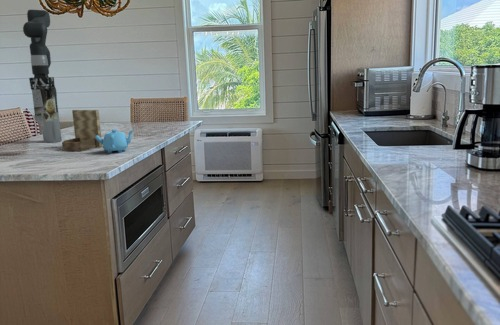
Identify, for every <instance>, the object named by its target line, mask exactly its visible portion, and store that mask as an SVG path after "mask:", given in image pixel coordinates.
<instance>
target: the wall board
mask: <svg viewBox="0 0 500 325" xmlns="http://www.w3.org/2000/svg"><path fill="white" fill-rule="evenodd" d="M71 112H72V120H73V129H74V130H73V131H74V138H80V141H84V140H89V139H93V138H95V137H96V136H97V135H98V136H99V137H100V138H101V139H102V131H101V121H100V113H99V109H72V110H71ZM96 145H97V147H96V148H103V145H102V144H101V143H100V142H99V141H98V140H96Z"/></svg>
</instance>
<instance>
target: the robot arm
mask: <svg viewBox="0 0 500 325" xmlns="http://www.w3.org/2000/svg"><path fill="white" fill-rule="evenodd" d="M26 16H27V17H26V18H27V22H25V23H24V24H23V27H22V32H23V34H24V36H26V37H27V38H30V41H31V42H30V44H29V52H30V65H31V71H32V75H33V76H34V77H29V79H28V80H29V86H30V89H31V91H32V89H46V90H47V98H52V90H53V89H54V96H55V105H56V113H57V120H53V121H47V122H42V125H41V131H42V136H43V137H42V138H43V143H58V142H59V143H60V142H63V140H62V131H61V130H62V129H61V125H60V116H59V106H58V98H57V97H58V96H57V95H58V94H57V88H56V85H55V78H54V76H49V74H50V70H49V69H50V67H51V64H52V61H51V52H50V49H49V48H48V46H47V45H46V41H47V36H48V28H50V26H51V17H50V16H51V15H50V13H49V12H48V10H45V9H44V10H43V9H28V10H27V13H26Z"/></svg>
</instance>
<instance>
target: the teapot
mask: <svg viewBox="0 0 500 325" xmlns="http://www.w3.org/2000/svg"><path fill="white" fill-rule="evenodd" d="M134 131H135V130H134V129H132V130H129V132H128V137H127V135H126V134H125V132H124V131H117V129H111V131H109V132H106V133H105V134H104V136H103V138H102V137H101V138H100V137H99V136H98V135H97V136H96V137H95V139H96V140H98V141H99V142H100V143H101V144H102V149H104V151H106V152H107V154H112V153H113V152H114V151H117V152H118V153H119V154H122V153H124V152H125V150H126V149H127V148H128V147H129V144H130V143H131V142H132V135H133V132H134Z"/></svg>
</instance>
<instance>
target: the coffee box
mask: <svg viewBox="0 0 500 325" xmlns="http://www.w3.org/2000/svg"><path fill="white" fill-rule="evenodd" d="M31 95H32V103H33V110H34V120H35V122H37V123H39V122H40V123H41V122H42V123H43V122H47V121H53V120H57V113H56V105H55V96H54V89H53V90H52V98H47V90H46V89H32V90H31Z"/></svg>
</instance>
